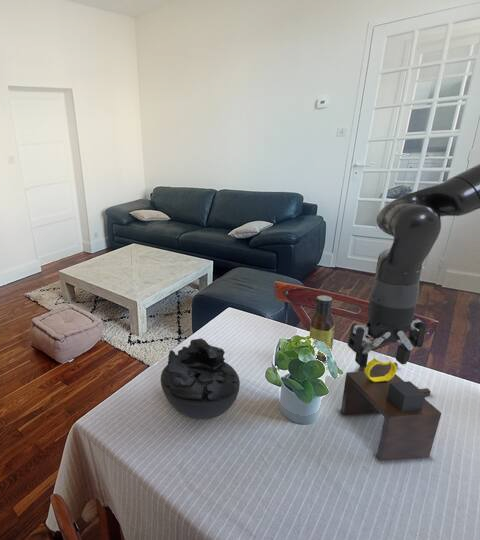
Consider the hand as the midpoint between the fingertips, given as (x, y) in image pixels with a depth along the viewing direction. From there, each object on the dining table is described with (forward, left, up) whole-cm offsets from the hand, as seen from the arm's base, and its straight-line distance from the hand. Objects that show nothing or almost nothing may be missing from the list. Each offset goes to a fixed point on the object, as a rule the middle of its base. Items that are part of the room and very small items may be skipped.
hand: (380, 363), depth 75 cm
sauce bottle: (-2, -26, -17) cm, 31 cm away
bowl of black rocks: (+39, -8, -17) cm, 43 cm away
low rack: (-14, -12, -16) cm, 25 cm away
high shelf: (0, +4, -16) cm, 17 cm away
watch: (0, 0, -5) cm, 5 cm away
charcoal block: (0, +8, -4) cm, 9 cm away
